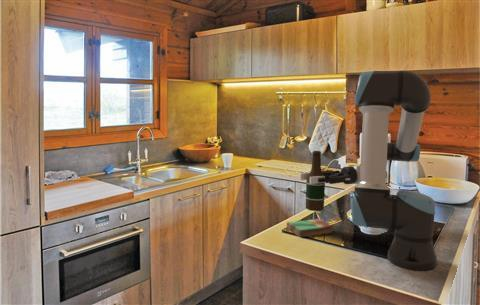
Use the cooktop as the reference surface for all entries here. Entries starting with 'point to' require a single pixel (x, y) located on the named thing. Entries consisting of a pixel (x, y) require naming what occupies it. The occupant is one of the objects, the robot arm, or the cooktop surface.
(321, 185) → the beer bottle
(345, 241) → the cooktop surface
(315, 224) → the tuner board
